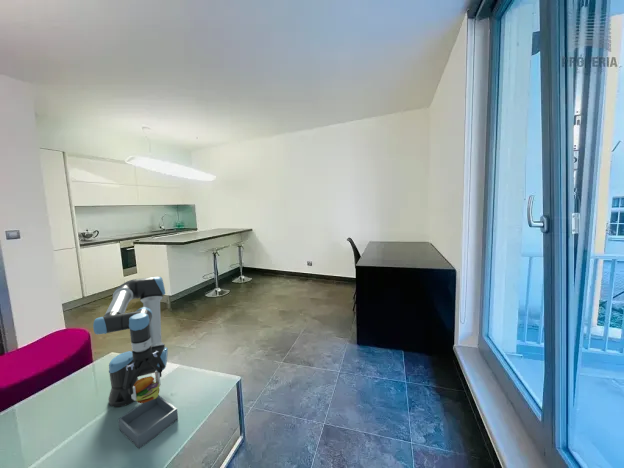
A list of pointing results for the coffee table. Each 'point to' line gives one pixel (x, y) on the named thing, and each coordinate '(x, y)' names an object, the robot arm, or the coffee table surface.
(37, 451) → the coffee table surface
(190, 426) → the coffee table surface
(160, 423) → the bin
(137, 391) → the cheeseburger
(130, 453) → the coffee table surface
